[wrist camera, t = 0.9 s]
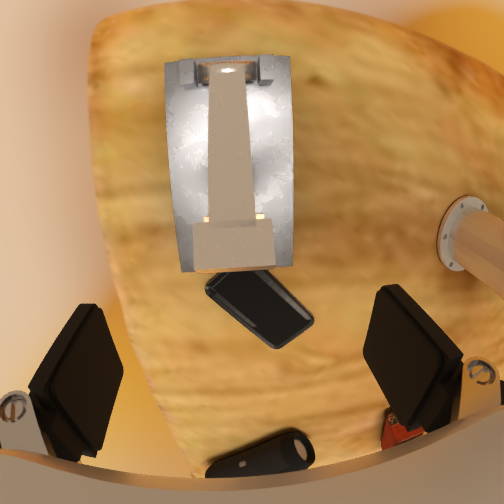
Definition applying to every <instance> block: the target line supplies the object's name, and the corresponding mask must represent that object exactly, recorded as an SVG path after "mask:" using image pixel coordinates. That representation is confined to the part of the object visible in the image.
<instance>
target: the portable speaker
mask: <svg viewBox="0 0 504 504" xmlns="http://www.w3.org/2000/svg"><path fill="white" fill-rule="evenodd" d="M314 461H315V452H314V449H313V446H312V444H311V442H310V441H309V439H308V438H307V437H306V436H305V435H304V434H302V433H300V432H293V433H285V434H283V435H281V436H279V437H277V438H274V439H272V440H270V441H268V442H265V443H263V444H261V445H258V446H256V447H254V448H251V449H249V450H246V451H244V452H241V453H239V454H236V455H233V456H231V457H228V458H225V459H222V460H220V461H217V462H214V463H213V464H212V465H211V466H210V467H209V468H208V469H207V470H206V473H205V478H236V477H251V476H263V475H272V474H280V473H287V472H294V471H300V470H306V469H307V468H308V467H309V466H311V465H312V464H313V463H314Z"/></svg>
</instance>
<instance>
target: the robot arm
mask: <svg viewBox="0 0 504 504" xmlns="http://www.w3.org/2000/svg"><path fill="white" fill-rule="evenodd" d="M437 247H438V254H439V258H440V260H441V262H442V263H443V264H444V266H446V267H447V268H448V269H450V270H452V271H463V270H465V269H466V270H467V271H468V272H470V273H471V274H472V275H474V276H475V277H476V278H477V279H479V280H480V281H481V282H483V283H484V284H485V285H486V286H488V287H489V288H490V289H491V290H493V291H494V292H495V293H496V294H498V295H499V296H500V297H501V298H502V299H504V220H502V219H500V218H498V217H496V216H494V215H492V214H490V213H489V212H488V209H487V207H486V205H485V203H484V202H483V201H482V200H480V199H479V198H477V197H474V196H464V197H462V198H460V199H458V200H457V201H455V202H454V203H453V204H452V205H451V207H450V208H449V209H448V211H447V212H446V214H445V216H444V218H443V220H442V223H441V226H440V229H439V233H438V241H437ZM463 355H464V354H463V353H462V352H461V351H460V349H459V348H458V347H457V346H456V345H455V344H454V343H453V342H452V340H451V339H450V338H449V337H448V336H447V335H446V334H445V333H444V331H443V330H442V329H441V328H440V327H439V326H438V325H437V324H436V323H435V322H434V321H433V320H432V318H431V317H430V316H429V315H428V314H427V313H426V312H425V311H424V310H423V309H422V308H421V307H420V306H419V305H418V304H417V303H416V302H415V301H414V300H413V299H412V298H411V297H410V296H409V295H408V294H407V293H406V292H405V291H404V289H403V288H402V287H401V286H400V285H398V284H392V285H385V286H382V287H381V289H380V290H379V291H377V293H376V297H375V302H374V306H373V311H372V315H371V320H370V324H369V328H368V332H367V336H366V340H365V344H364V347H363V356H364V359H365V360H366V362H367V364H368V366H369V368H370V369H371V371H372V373H373V375H374V377H375V379H376V380H377V382H378V384H379V386H380V388H381V390H382V391H383V393H384V395H385V397H386V399H387V401H388V403H389V405H390V406H391V408H392V410H393V412H394V414H395V416H396V418H397V420H398V422H399V423H400V425H402V426H405V428H406V430H407V432H410V431H413V430H416V429H418V428H420V427H421V426H422V428H423V429H424V433H423V436H421V437H418V438H415V439H413V440H410V441H408V442H405V443H402V444H400V445H397V446H394V447H391V448H388V449H385V450H382V451H379V452H376V453H373V454H369V455H366V456H363V457H359V458H355V459H352V460H348V461H344V462H340V463H335V464H331V465H326V466H322V467H317V468H312V469H306V470H300V471H294V472H287V473H280V474H272V475H263V476H251V477H236V478H178V477H162V476H152V475H143V474H135V473H127V472H121V471H115V470H110V469H104V468H99V467H93V466H89V465H84V464H82V463H81V461H80V458H81V455H85V456H89V457H94V458H96V455H97V451H98V450H101V449H102V446H103V442H104V439H105V435H106V431H107V427H108V424H109V420H110V416H111V413H112V409H113V406H114V403H115V399H116V396H117V393H118V390H119V386H120V383H121V380H122V377H123V366H122V363H121V360H120V358H119V355H118V353H117V350H116V347H115V345H114V342H113V340H112V337H111V334H110V331H109V328H108V325H107V322H106V319H105V316H104V313H103V311H102V309H101V308H98V306H97V305H96V304H80V305H78V307H77V308H76V310H75V311H74V313H73V314H72V316H71V317H70V319H69V320H68V322H67V323H66V324H65V326H64V327H63V329H62V331H61V332H60V334H59V335H58V337H57V338H56V340H55V341H54V343H53V345H52V346H51V348H50V349H49V351H48V353H47V354H46V356H45V358H44V359H43V361H42V363H41V364H40V366H39V368H38V369H37V371H36V373H35V375H34V377H33V378H32V380H31V382H30V383H29V385H28V388H29V389H30V393H29V395H28V394H26V393H25V392H23V391H12V392H9V393H8V394H5V395H4V396H3V397H2V398H1V399H0V504H504V381H502V380H500V376H499V372H498V370H497V368H496V366H495V365H494V364H493V363H492V362H490V361H489V360H487V359H485V358H482V357H471V358H469V359H467V360H466V361H465V362H464V363H463V362H462V361H461V359H462V357H463Z"/></svg>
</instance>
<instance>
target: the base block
mask: <svg viewBox="0 0 504 504" xmlns="http://www.w3.org/2000/svg"><path fill="white" fill-rule="evenodd" d="M225 61H255V62H256V81H245V83H246V96H247V108H248V120H249V133H250V146H251V159H252V172H253V185H254V198H255V211H256V219H269V218H272V226H273V237H274V249H275V261H276V266H275V267H285V266H292V265H293V125H292V94H291V72H290V56H274V55H259V56H227V57H212V58H200V59H194V58H191V59H182V60H180V61H175V62H168V63H165V104H166V126H167V143H168V157H169V169H170V181H171V191H172V201H173V210H174V219H175V227H176V235H177V243H178V250H179V257H180V264H181V271H182V272H196V271H195V270H194V254H193V223H199V222H209V218H208V108H209V83H203V84H199V80H198V64H199V63H211V62H225Z"/></svg>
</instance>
